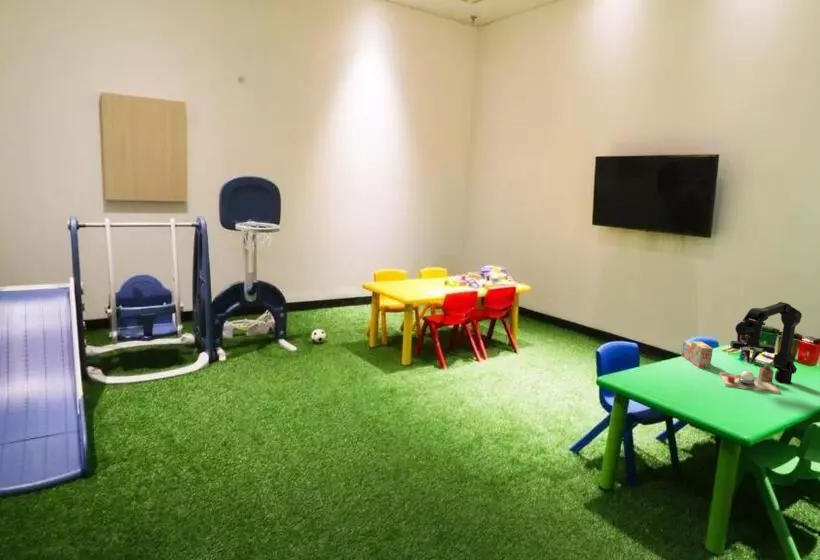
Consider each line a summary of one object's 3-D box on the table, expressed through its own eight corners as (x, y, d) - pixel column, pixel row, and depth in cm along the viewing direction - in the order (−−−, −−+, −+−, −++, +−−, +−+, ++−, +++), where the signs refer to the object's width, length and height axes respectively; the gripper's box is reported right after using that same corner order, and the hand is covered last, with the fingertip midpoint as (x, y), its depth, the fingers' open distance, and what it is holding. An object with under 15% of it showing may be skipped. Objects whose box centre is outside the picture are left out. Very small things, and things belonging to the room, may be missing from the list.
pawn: (769, 379, 286) (771, 363, 285) (772, 382, 282) (774, 366, 280) (758, 377, 288) (761, 362, 286) (760, 380, 283) (763, 365, 282)
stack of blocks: (681, 356, 325) (683, 336, 323) (691, 356, 325) (694, 336, 323) (698, 368, 304) (701, 347, 302) (710, 369, 304) (713, 348, 302)
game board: (769, 381, 287) (770, 373, 286) (779, 394, 270) (780, 385, 269) (718, 374, 295) (719, 366, 294) (725, 386, 278) (726, 378, 277)
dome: (752, 380, 280) (754, 369, 279) (755, 384, 274) (757, 374, 273) (737, 378, 282) (739, 367, 281) (740, 382, 276) (742, 372, 275)
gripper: (771, 331, 277) (766, 360, 280) (730, 327, 284) (725, 355, 287) (777, 337, 267) (772, 367, 270) (734, 332, 273) (730, 362, 276)
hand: (749, 362), depth 276 cm, fingers closed
